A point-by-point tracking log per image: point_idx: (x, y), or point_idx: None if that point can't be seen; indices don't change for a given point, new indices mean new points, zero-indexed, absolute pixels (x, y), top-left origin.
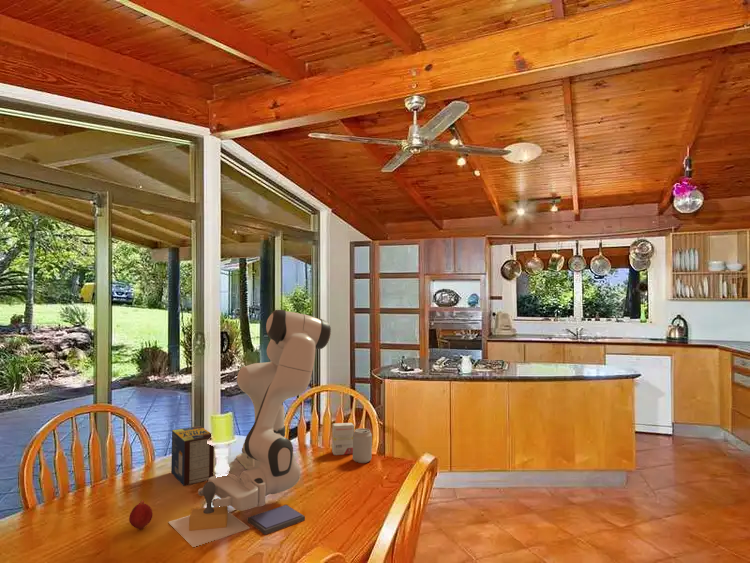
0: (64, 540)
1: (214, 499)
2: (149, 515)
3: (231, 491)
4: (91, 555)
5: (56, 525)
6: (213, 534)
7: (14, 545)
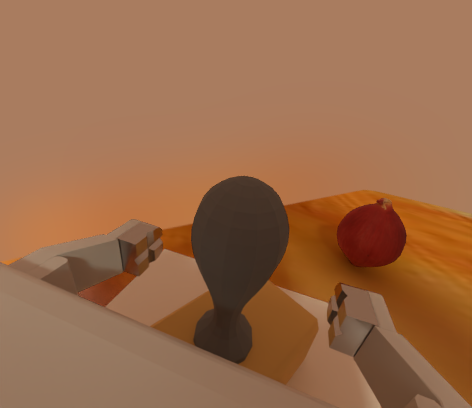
0: None
1: (149, 227)
2: (347, 231)
3: (4, 294)
4: (304, 202)
5: (455, 229)
6: (142, 316)
7: (395, 198)
